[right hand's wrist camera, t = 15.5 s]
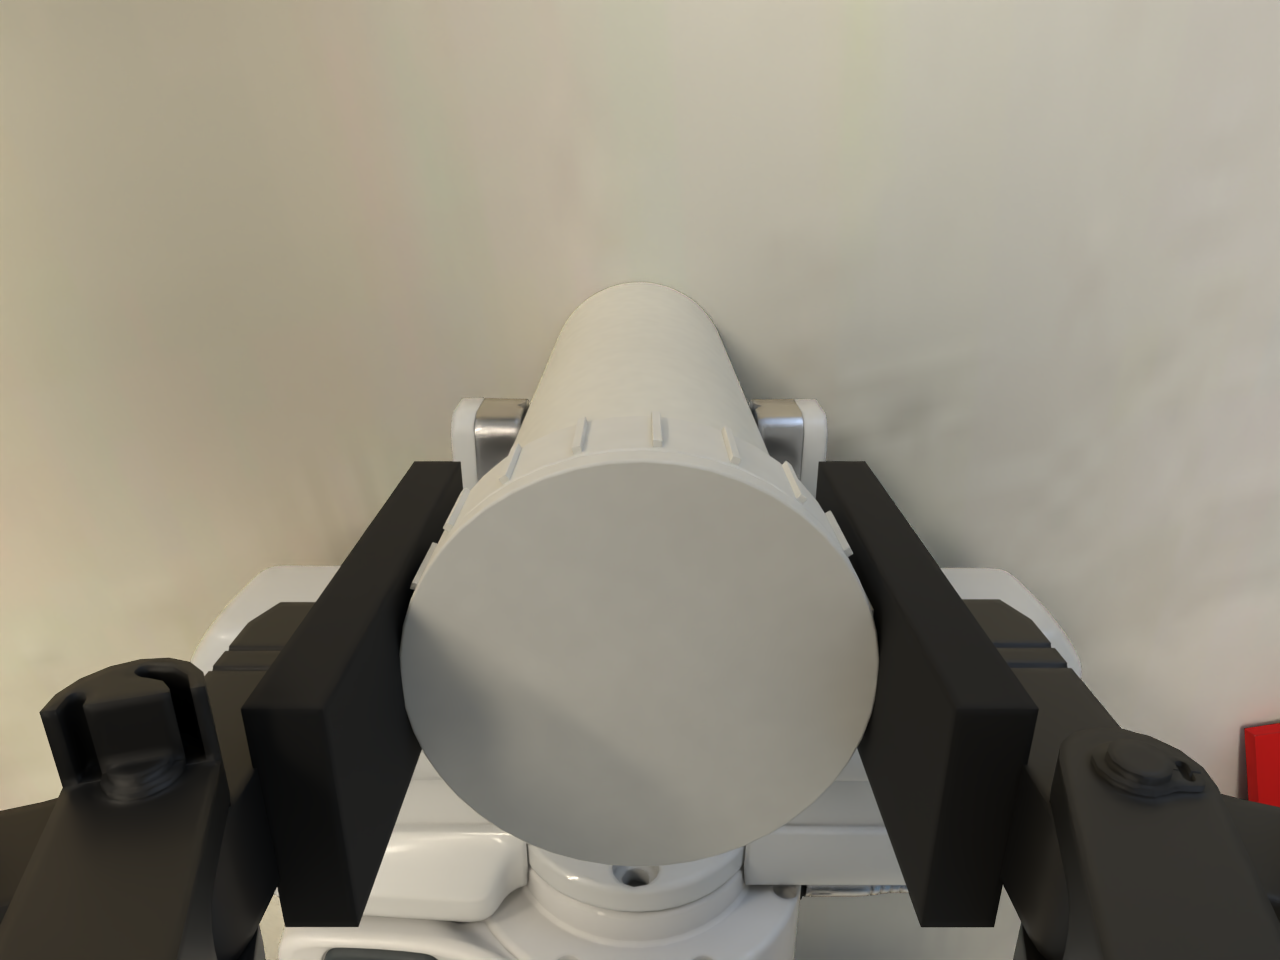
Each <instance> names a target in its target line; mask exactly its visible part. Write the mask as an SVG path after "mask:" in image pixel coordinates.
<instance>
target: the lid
mask: <svg viewBox="0 0 1280 960" xmlns="http://www.w3.org/2000/svg"><path fill="white" fill-rule="evenodd" d="M443 529H445V530H444V532H443V534H442V536H441V538H440V540H439V542H438V544H437V543H434V542H433V543H432V544H431V546H430V548H429V550H428V552H427V554H426V556H425V558H424V560H423V562H422V564H421V566H420V568H419V570H418V571H417V573H416V575H415V577H414V579H413V581H412V584H411V587H410V589H412V590H415V591H414V593H413V595H412V597H411V600H410V603H409V606H408V610H407V613H406V617H405V620H404V623H403V628H402V635H401V643H400V650H399V656H400V668H401V678H402V686H403V694H404V701H405V709H406V712H407V715H408V717H409V720H410V723H411V726H412V729H413V732H414V734H415V736H416V738H417V740H418V742H419V744H420V746H421V748H422V750H423V752H424V754H425V756H426V757H427V758H428V760H429V761H430V763H431V764H432V766H433V767H434V769H435V770H436V771H437V773H438V774H439V776H440V777H441V778H442V779H443V780H444V782H445V783H446V784H447V785H448V786H449V787H450V788H451V789H452V790H453V792H454V793H455V794H456V795H457V796H458V797H459V798H460V799H461V800H463V801H464V802H465V803H466V804H467V805H468V806H470V807H471V808H472V809H473V810H474V811H475V812H477V813H478V814H479V815H480V816H482V817H483V818H485V819H486V820H488V821H489V822H491V823H492V824H494V825H495V826H497V827H498V828H500V829H501V830H503V831H505V832H507V833H509V834H511V835H513V836H514V837H516V838H518V839H520V840H522V841H524V842H526V843H529V844H531V845H534V846H536V847H539V848H541V849H544V850H547V851H549V852H552V853H555V854H559V855H562V856H566V857H570V858H574V859H577V860H582V861H588V862H594V863H600V864H606V865H620V866H662V865H670V864H678V863H685V862H692V861H696V860H700V859H704V858H708V857H712V856H717V855H720V854H723V853H726V852H729V851H731V850H734V849H737V848H740V847H743V846H745V845H747V844H750V843H752V842H754V841H756V840H758V839H760V838H762V837H764V836H766V835H768V834H770V833H772V832H773V831H775V830H777V829H778V828H780V827H781V826H783V825H785V824H786V823H788V822H789V821H791V820H792V819H794V818H795V817H796V816H798V815H799V814H800V813H801V812H803V811H804V810H805V809H806V808H808V807H809V806H810V805H811V804H813V803H814V802H815V801H816V800H817V799H818V798H819V797H820V796H821V795H822V794H823V793H824V792H825V791H826V790H827V789H828V788H829V787H830V786H831V785H832V783H833V782H834V781H835V780H836V778H837V777H838V776H839V774H840V773H841V772H842V770H843V769H844V768H845V766H846V765H847V764H848V762H849V761H850V759H851V758H852V756H853V754H854V752H855V750H856V748H857V747H858V745H859V743H860V741H861V739H862V738H863V735H864V732H865V730H866V727H867V724H868V722H869V719H870V717H871V714H872V710H873V706H874V701H875V695H876V687H877V678H878V670H879V648H878V637H877V630H876V626H875V622H874V618H873V615H874V609H873V607H872V605H871V603H870V601H869V599H868V597H867V595H866V593H865V591H864V589H863V587H862V585H861V583H860V580H859V578H858V576H857V574H856V572H855V570H854V568H853V566H852V564H851V562H850V560H849V558H848V557H849V556H851V555H852V554H853V552H852V550H851V548H850V546H849V544H848V542H847V540H846V538H845V537H844V535H843V533H842V531H841V529H840V527H839V525H838V523H837V521H836V519H835V517H834V516H833V514H832V512H831V511H828V512H826V513H824V511H823V510H822V508H821V507H820V505H819V503H818V502H817V501H816V499H815V498H814V497H813V496H812V495H811V493H810V492H809V491H808V490H807V489H806V487H805V486H804V485H803V484H802V483H801V481H800V480H798V478H797V476H796V474H795V472H794V470H793V467H792V465H791V464H790V463H788V462H787V461H785V462H784V463H783V464H781V463H780V462H778V461H777V460H775V459H774V458H772V457H771V456H769V455H768V454H766V453H765V452H763V451H762V450H760V449H759V448H757V447H756V446H754V445H752V444H750V443H748V442H746V441H744V440H742V439H740V438H738V437H736V436H734V435H733V432H732V429H731V428H728V427H726V426H724V427H723V429H722V431H721V430H718V429H715V428H712V427H709V426H706V425H703V424H699V423H694V422H689V421H685V420H680V419H675V418H665V417H660V412H658V411H652V413H651V416H627V417H611V418H605V419H600V420H594V421H588V422H587V419H586V417H582V418H578V421H577V424H576V425H573V426H570V427H567V428H563V429H560V430H557V431H554V432H552V433H550V434H548V435H545V436H543V437H541V438H539V439H537V440H535V441H532V442H530V443H528V444H527V445H525V446H523V447H522V448H521V446H520V445H519V444H518V443H517V444H516V445H514V446H512V448H511V450H510V452H509V455H508V456H507V457H506V458H504V459H503V460H502V461H501V462H500V463H498V464H497V465H496V466H495V467H494V468H492V469H491V470H490V471H489V472H488V473H486V474H485V475H484V476H483V477H482V478H481V479H480V480H479V481H478V483H477V484H476V485H475V486H474V487H473V488H472V489H471V490H469V489H468V488H466V487H465V488H464V489H463V490H462V491H461V493H460V495H459V497H458V499H457V501H456V503H455V505H454V507H453V509H452V511H451V513H450V515H449V517H448V519H447V521H446V523H445V525H444V527H443Z"/></svg>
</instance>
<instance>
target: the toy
mask: <svg viewBox="0 0 1280 960" xmlns="http://www.w3.org/2000/svg"><path fill="white" fill-rule="evenodd" d="M1244 730H1245V748H1246V766H1247V783H1248V801H1252V802H1257V803H1262V804H1267V805H1271V806H1276V807H1280V723H1277V724H1270V725H1264V726H1257V727H1251V728H1244Z"/></svg>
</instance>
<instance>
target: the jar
mask: <svg viewBox="0 0 1280 960" xmlns="http://www.w3.org/2000/svg"><path fill="white" fill-rule="evenodd" d="M652 411H658V412H660V417H665V418H675V419H680V420H685V421H689V422H694V423H699V424H703V425H706V426H709V427H712V428H715V429H718V430H721V431H722V429H723V427H724V426H726V427H728V428H731V429H732V432H733V435H734V436H736V437H738V438H740V439H742V440H744V441H746V442H748V443H750V444H752V445H754V446H756V447H757V448H759V449H760V450H762V451H763V452H765V453H766V454H768V455H769V453H768V451H767V449H766V446H765V444H764V441H763V439H762V437H761V434H760V432H759V429H758V427H757V424H756V422H755V420H754V417H753V415H752V412H751V410H750V408H749V405H748V403H747V400H746V398H745V396H744V393H743V391H742V388H741V386H740V384H739V381H738V379H737V376H736V374H735V371H734V369H733V367H732V364H731V362H730V359H729V357H728V355H727V352H726V350H725V347H724V345H723V343H722V340H721V338H720V336H719V333H718V331H717V329H716V327H715V325H714V324H713V322H712V320H711V319H710V317H709V316H708V315H707V314H706V313H705V311H704V310H703V309H702V308H701V307H700V306H699V305H698V304H697V303H696V302H694V301H693V300H692V299H690V298H689V297H687V296H686V295H684V294H682V293H681V292H679V291H677V290H675V289H672V288H669V287H667V286H664V285H659V284H655V283H646V282H631V283H624V284H619V285H615V286H612V287H609V288H606V289H604V290H602V291H600V292H598V293H596V294H594V295H593V296H591V297H590V298H588V299H587V300H585V301H584V302H583V303H582V304H581V305H580V306H578V307H577V308H576V310H575V311H574V312H573V313H572V314H571V315H570V317H569V318H568V320H567V321H566V323H565V324H564V326H563V328H562V330H561V332H560V334H559V336H558V339H557V341H556V343H555V346H554V348H553V351H552V353H551V355H550V358H549V360H548V363H547V365H546V367H545V370H544V372H543V375H542V377H541V380H540V382H539V384H538V387H537V389H536V392H535V394H534V396H533V399H532V401H531V404H530V406H529V408H528V411H527V413H526V416H525V418H524V421H523V423H522V425H521V428H520V430H519V433H518V435H517V437H516V440H515V442H514V445H516V444H517V443H518V444H519V445H520V446H521V448H522V447H523V446H525V445H527V444H528V443H530V442H532V441H535V440H537V439H539V438H541V437H543V436H545V435H548V434H550V433H552V432H554V431H557V430H560V429H563V428H567V427H570V426H573V425H576V424H577V421H578V418H582V417H586V419H587V422H588V421H594V420H600V419H605V418H611V417H627V416H651V413H652ZM514 445H513V446H514Z"/></svg>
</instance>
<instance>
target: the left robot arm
mask: <svg viewBox="0 0 1280 960" xmlns="http://www.w3.org/2000/svg"><path fill="white" fill-rule="evenodd" d="M529 406H530V405H529V400H528V399H499V398H484V397H481V398H462V399H461V401H460V402H459V404H458V405H457V407H456V408H455V410H454V411H453V416H452V423H451V445H452V457H453V461H461V470H462V482H463V489H464V488H465V487H466V488H468V489H469V490H471V489H472V488H473V487H474V486H475V485H476V484H477V483H478V481H479V480H480V479H481V478H482V477H483V476H484V475H485V474H486V473H488V472H489V471H490V470H491V469H492V468H494V467H495V466H496V465H497V464H498V463H500V462H501V461H502V460H503V459H504V458H506V457H507V456H508V455H509V452H510V450H511V448H512V446H513V445H514V442H515V440H516V437H517V435H518V433H519V430H520V428H521V425H522V423H523V421H524V418H525V416H526V413H527V411H528V408H529ZM749 408H750V410H751V412H752V415H753V417H754V420H755V422H756V424H757V427H758V429H759V432H760V434H761V437H762V439H763V441H764V444H765V446H766V449H767V451H768V453H769V456H771V457H772V458H774V459H775V460H777V461H778V462H780V463H781V464H783V463H784V462H785V461H787V462H788V463H790V464H791V465H792V467H793V470H794V472H795V474H796V476H797V478H798V480H800V481H801V483H802V484H803V485H804V486H805V487H806V489H807V490H808V491H809V492H810V493H811V495H812V496H813V497H814V498H815V499H816V487H817V475H818V463H819V461H826V451H827V439H828V428H827V417H826V413H825V411H824V410H823V409H822V407H821V406H820V404H819V403H818V401H817V400H816V399H751V401H750V404H749ZM340 567H341V566H302V565H280V566H273V567H269V568H267V569H265V570H263V571H261V572H260V573H259V574H257V575H256V576H255V577H254V578H253V579H252V580H251V581H250V582H249V583H248V584H247V585H246V586H245V587H244V588H243V589H242V590H241V591H240V592H239V593H238V594H237V595H236V596H235V597H234V598H233V599H232V600H231V601H230V602H229V603H228V604H227V605H226V607H225V608H224V609H223V610H222V612H221V613H220V614H219V615H218V616H217V618H216V619H215V620H214V621H213V623H212V624H211V625H210V627H209V628H208V630H207V631H206V632H205V634H204V635H203V637H202V639H201V640H200V642H199V643H198V645H197V647H196V649H195V651H194V653H193V655H192V658H191V663H192V664H194V665H195V666H196V667H198V668H199V669H200V670H201V671H203V673H204V676H205V675H206V674H207V672H208V671H212V670H213V665H214V664H215V663H216V661H217V660H218V659H219V658H220V656H221V655H222V654H223V653H224V652H225V651H229V645H230V644H231V643H232V642H233V640H234V639H235V638H236V637H237V636H238V634H239V633H240V632H241V631H242V629H243V628H244V627H245V626H246V625H247V623H248V622H250V621H251V620H253V619H254V618H256V617H258V616H259V615H261V614H262V613H264V612H265V611H267V610H269V609H270V608H272V607H273V606H275V605H276V604H278V603H280V602H316V601H317V599H318V598H319V596H320V595H321V594H322V592H323V591H324V589H325V588H326V586H327V585H328V584H329V582H330V581H331V579H332V578H333V577H334V575H335V574H336V572H337V571H338V569H339V568H340ZM940 569H941V570H942V572H943V573H944V574H945V576H946V577H947V579H948V580H949V582H950V583H951V584H952V586H953V587H954V589H955V590H956V592H957V593H958V594H959V596H960V597H961V599H1000V600H1001V601H1003V602H1005V603H1006V604H1008V605H1009V606H1011V607H1013V608H1014V609H1016V610H1017V611H1019V612H1021V613H1022V614H1024V615H1025V616H1027V617H1029V618H1030V619H1032V620H1033V622H1034V623H1035V624H1036V625H1037V627H1038V628H1039V629H1040V630H1041V631H1042V633H1043V634H1044V635H1045V636H1046V638H1047V639H1048V640H1049V641H1050V642H1051V648H1055V649H1056V650H1057V651H1058V652H1059V653H1060V655H1061V656H1062V657H1063V658H1064V659H1065V661H1066V662H1067V667H1068V668H1072V669H1073V670H1074V672H1075V673H1076V674H1077V675H1078V677H1079V678H1080V679H1081V676H1082V668H1081V663H1080V659H1079V657H1078V654H1077V652H1076V650H1075V648H1074V646H1073V644H1072V643H1071V641H1070V640H1069V638H1068V636H1067V635H1066V633H1065V632H1064V631H1063V629H1062V628H1061V627H1060V625H1059V624H1058V623H1057V621H1056V620H1055V619H1054V617H1053V616H1052V615H1051V613H1050V612H1049V611H1048V610H1047V609H1046V608H1045V607H1044V605H1043V604H1042V603H1041V602H1040V601H1039V600H1038V599H1037V598H1036V597H1035V596H1034V595H1033V594H1032V593H1031V592H1030V591H1029V590H1028V589H1027V588H1026V587H1025V586H1024V585H1023V584H1022V583H1021V582H1020V581H1019V580H1018V579H1017V578H1016V577H1014V576H1013V575H1012V574H1010V573H1008V572H1007V571H1005V570H1001V569H994V568H940ZM898 892H900V893H909V892H908V889H907V886H906V884H905V881H904V878H903V875H902V872H901V870H900V867H899V864H898V861H897V858H896V856H895V853H894V850H893V847H892V844H891V842H890V839H889V836H888V833H887V831H886V828H885V825H884V822H883V819H882V817H881V814H880V811H879V808H878V805H877V803H876V800H875V797H874V794H873V791H872V789H871V786H870V783H869V780H868V777H867V775H866V772H865V769H864V766H863V763H862V761H861V758H860V755H859V752H858V749H857V748H856V750H855V752H854V754H853V756H852V758H851V759H850V761H849V762H848V764H847V765H846V766H845V768H844V769H843V770H842V772H841V773H840V774H839V776H838V777H837V778H836V780H835V781H834V782H833V783H832V785H831V786H830V787H829V788H828V789H827V790H826V791H825V792H824V793H823V794H822V795H821V796H820V797H819V798H818V799H817V800H816V801H815V802H814V803H813V804H811V805H810V806H809V807H808V808H806V809H805V810H804V811H803V812H801V813H800V814H799V815H798V816H796V817H795V818H794V819H792V820H791V821H789V822H788V823H786V824H785V825H783V826H781V827H780V828H778V829H777V830H775V831H773V832H772V833H770V834H768V835H766V836H764V837H762V838H760V839H758V840H756V841H754V842H752V843H750V844H747V845H745V846H743V847H740V848H737V849H734V850H731V851H729V852H726V853H723V854H720V855H717V856H712V857H708V858H704V859H700V860H696V861H692V862H685V863H678V864H670V865H662V866H620V865H606V864H600V863H594V862H588V861H582V860H577V859H574V858H570V857H566V856H562V855H559V854H555V853H552V852H549V851H547V850H544V849H541V848H539V847H536V846H534V845H531V844H529V843H526V842H524V841H522V840H520V839H518V838H516V837H514V836H513V835H511V834H509V833H507V832H505V831H503V830H501V829H500V828H498V827H497V826H495V825H494V824H492V823H491V822H489V821H488V820H486V819H485V818H483V817H482V816H480V815H479V814H478V813H477V812H475V811H474V810H473V809H472V808H471V807H470V806H468V805H467V804H466V803H465V802H464V801H463V800H461V799H460V798H459V797H458V796H457V795H456V794H455V793H454V792H453V790H452V789H451V788H450V787H449V786H448V785H447V784H446V783H445V782H444V780H443V779H442V778H441V777H440V776H439V774H438V773H437V771H436V770H435V769H434V767H433V766H432V764H431V763H430V761H429V760H428V758H427V757H426V756H425V754H424V752H423V750H422V751H421V754H420V756H419V759H418V762H417V765H416V768H415V770H414V773H413V776H412V779H411V781H410V784H409V787H408V790H407V793H406V795H405V798H404V801H403V804H402V807H401V809H400V812H399V815H398V818H397V821H396V823H395V826H394V829H393V832H392V835H391V837H390V840H389V843H388V846H387V849H386V851H385V854H384V857H383V860H382V863H381V865H380V868H379V871H378V874H377V877H376V879H375V882H374V885H373V888H372V890H371V893H370V896H369V899H368V902H367V904H366V907H365V910H364V913H363V916H362V918H361V921H360V924H359V927H285V926H284V929H283V933H282V936H281V939H280V943H279V947H278V960H794V954H795V943H796V934H797V924H798V913H799V903H800V900H801V899H802V896H804V897H810V895H811V897H858V896H868V895H878V894H879V893H880V894H885V893H898ZM274 894H275V895H276V896H278V897H279V893H278V889H277V888H276V890H275V892H274Z"/></svg>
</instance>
